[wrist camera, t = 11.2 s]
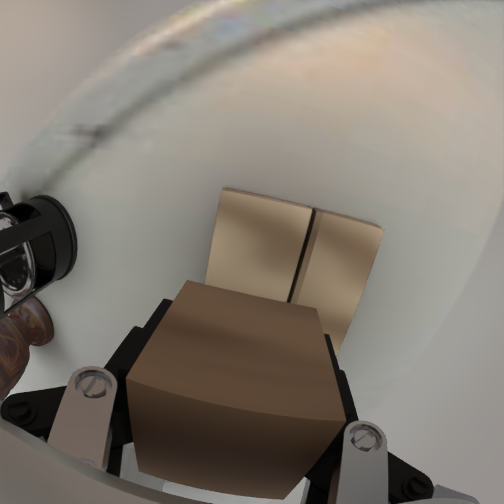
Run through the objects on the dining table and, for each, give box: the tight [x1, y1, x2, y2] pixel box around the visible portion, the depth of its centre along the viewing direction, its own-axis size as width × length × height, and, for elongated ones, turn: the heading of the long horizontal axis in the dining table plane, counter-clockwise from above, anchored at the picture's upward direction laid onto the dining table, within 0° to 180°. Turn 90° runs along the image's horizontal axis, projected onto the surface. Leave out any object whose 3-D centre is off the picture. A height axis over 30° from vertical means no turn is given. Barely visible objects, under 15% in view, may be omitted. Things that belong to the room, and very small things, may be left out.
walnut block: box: [126, 280, 346, 500], centre depth 8 cm, size 4×4×5 cm
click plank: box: [205, 188, 312, 302], centre depth 25 cm, size 20×7×2 cm, turn 168°
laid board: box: [287, 208, 384, 355], centre depth 25 cm, size 20×6×2 cm, turn 168°
